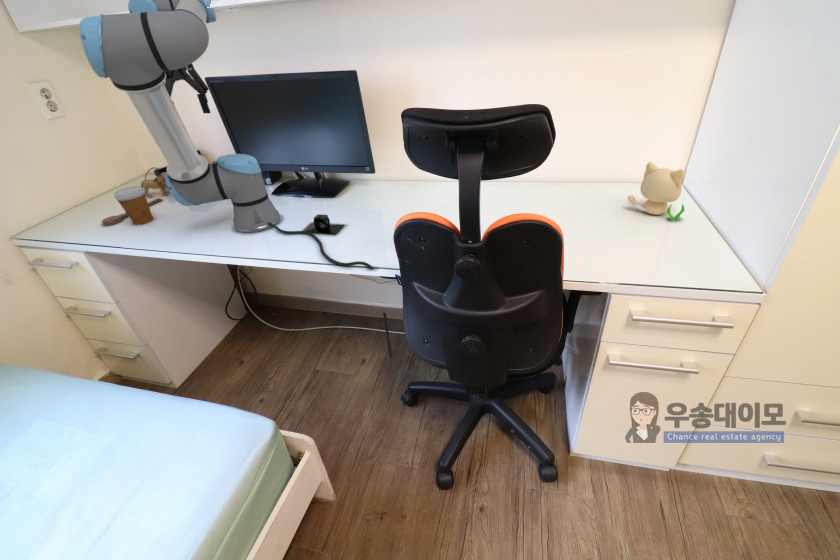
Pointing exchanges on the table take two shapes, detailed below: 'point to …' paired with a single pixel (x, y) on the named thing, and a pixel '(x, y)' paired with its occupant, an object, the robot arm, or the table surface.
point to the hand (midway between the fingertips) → (192, 117)
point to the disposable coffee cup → (134, 204)
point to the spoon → (123, 215)
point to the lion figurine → (155, 184)
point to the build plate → (323, 226)
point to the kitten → (659, 190)
